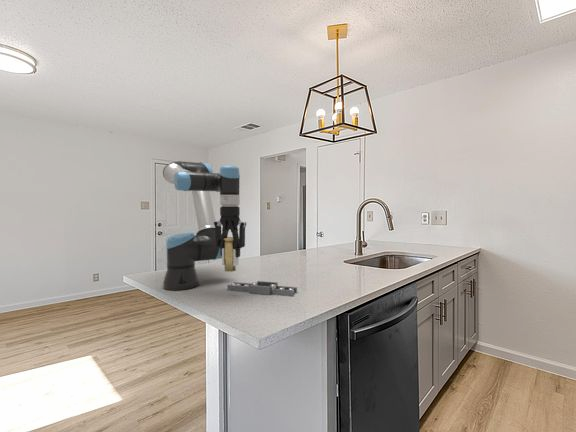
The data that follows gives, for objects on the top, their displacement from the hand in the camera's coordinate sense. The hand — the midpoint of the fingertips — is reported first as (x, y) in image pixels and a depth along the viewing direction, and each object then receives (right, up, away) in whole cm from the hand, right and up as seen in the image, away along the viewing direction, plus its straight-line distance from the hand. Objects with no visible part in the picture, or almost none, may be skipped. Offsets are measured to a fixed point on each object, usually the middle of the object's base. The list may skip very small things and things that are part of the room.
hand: (230, 264), depth 121 cm
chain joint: (+13, -12, +5) cm, 18 cm away
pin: (0, -2, 0) cm, 2 cm away
